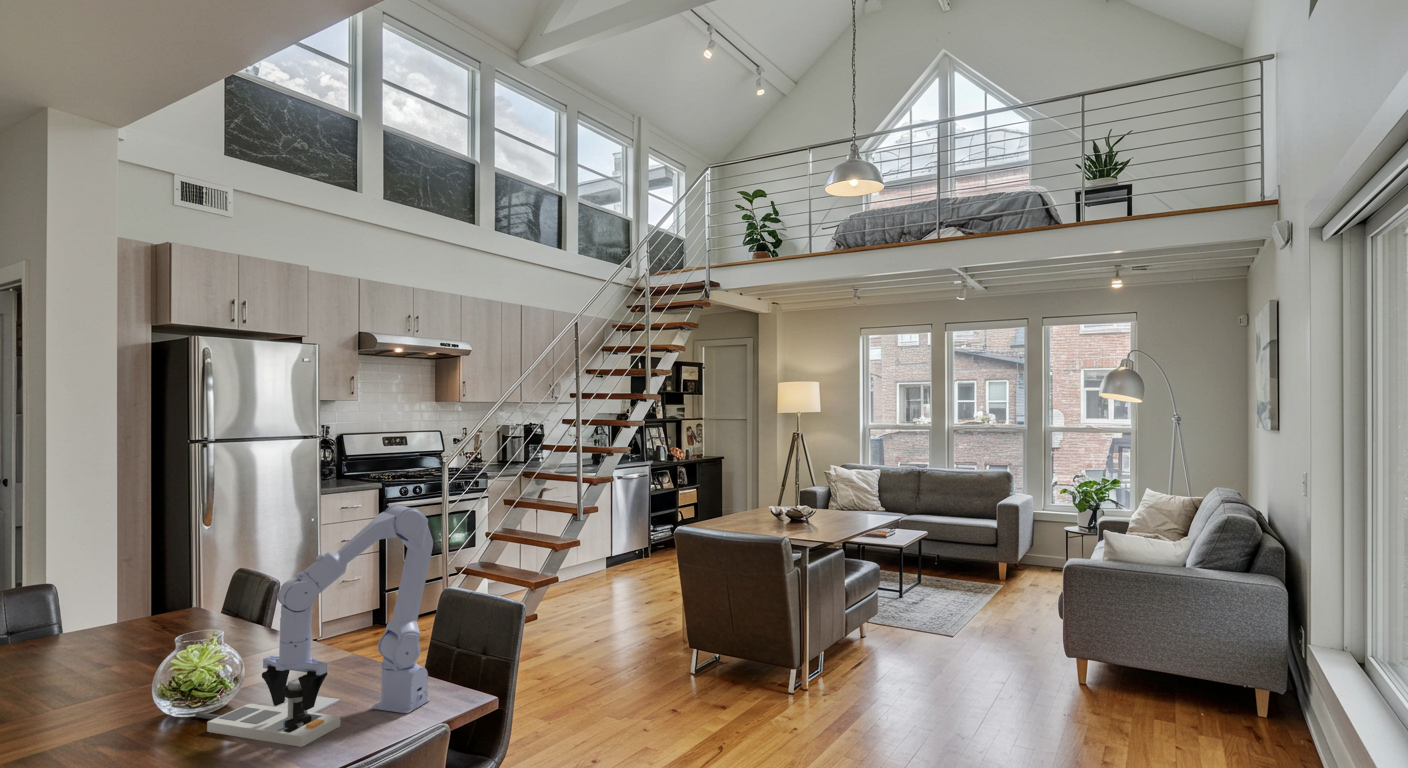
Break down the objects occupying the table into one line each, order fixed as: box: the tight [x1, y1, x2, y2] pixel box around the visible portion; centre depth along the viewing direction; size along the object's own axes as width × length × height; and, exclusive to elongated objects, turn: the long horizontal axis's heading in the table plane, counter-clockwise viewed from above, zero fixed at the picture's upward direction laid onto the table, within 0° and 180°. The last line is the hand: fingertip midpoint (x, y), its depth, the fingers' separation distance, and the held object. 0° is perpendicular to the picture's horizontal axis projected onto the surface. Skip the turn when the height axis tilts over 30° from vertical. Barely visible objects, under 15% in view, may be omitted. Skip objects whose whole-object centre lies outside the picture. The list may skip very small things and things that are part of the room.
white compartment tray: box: [194, 703, 341, 748], centre depth 156 cm, size 33×10×3 cm, turn 74°
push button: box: [277, 678, 311, 733], centre depth 153 cm, size 7×5×10 cm
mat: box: [277, 695, 341, 713], centre depth 166 cm, size 10×10×1 cm
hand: (293, 706), depth 153 cm, fingers open, 7 cm apart
